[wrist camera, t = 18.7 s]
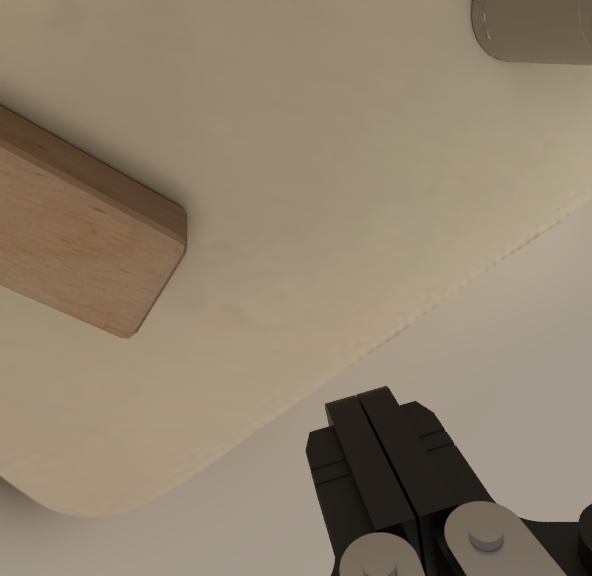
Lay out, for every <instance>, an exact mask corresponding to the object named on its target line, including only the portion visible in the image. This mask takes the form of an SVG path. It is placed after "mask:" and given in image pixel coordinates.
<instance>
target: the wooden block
mask: <svg viewBox="0 0 592 576" xmlns="http://www.w3.org/2000/svg"><path fill="white" fill-rule="evenodd" d="M186 249H187V214H186V213H185V211H184V210H183V209H182V208H181V207H179V206H178V205H176V204H174V203H172V202H170V201H169V200H167V199H165V198H163V197H162V196H160V195H158V194H156V193H154V192H153V191H151V190H149V189H147V188H146V187H144V186H142V185H140V184H138V183H137V182H135V181H133V180H131V179H130V178H128V177H126V176H124V175H122V174H121V173H119V172H117V171H115V170H114V169H112V168H110V167H108V166H106V165H105V164H103V163H101V162H99V161H98V160H96V159H94V158H92V157H90V156H89V155H87V154H85V153H83V152H82V151H80V150H78V149H76V148H74V147H73V146H71V145H69V144H67V143H66V142H64V141H62V140H60V139H58V138H57V137H55V136H53V135H51V134H50V133H48V132H46V131H44V130H42V129H41V128H39V127H37V126H35V125H34V124H32V123H30V122H28V121H26V120H25V119H23V118H21V117H19V116H18V115H16V114H14V113H12V112H11V111H9V110H7V109H5V108H3V107H2V106H0V285H2V286H4V287H6V288H8V289H11V290H13V291H15V292H18V293H20V294H22V295H24V296H27V297H29V298H31V299H34V300H36V301H38V302H40V303H43V304H45V305H47V306H50V307H52V308H54V309H56V310H59V311H61V312H63V313H65V314H68V315H70V316H72V317H75V318H77V319H79V320H81V321H84V322H86V323H88V324H91V325H93V326H95V327H97V328H100V329H102V330H104V331H107V332H109V333H111V334H113V335H116V336H118V337H120V338H127V339H129V338H130V337H131V336H132V335H134V334H135V333H136V332H138V330H139V328H140V327H141V325H142V323H143V322H144V320H145V319H146V317H147V315H148V314H149V312H150V310H151V309H152V307H153V306H154V304H155V302H156V301H157V299H158V297H159V296H160V294H161V293H162V291H163V289H164V288H165V286H166V284H167V283H168V281H169V279H170V278H171V276H172V275H173V273H174V271H175V270H176V268H177V266H178V265H179V263H180V262H181V260H182V258H183V257H184V255H185V253H186Z"/></svg>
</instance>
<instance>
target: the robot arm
mask: <svg viewBox="0 0 592 576" xmlns="http://www.w3.org/2000/svg"><path fill="white" fill-rule="evenodd" d="M472 21H473V29H474V31H475V34H476V37H477V40H478V41H479V43H480V44H481V46H482V48H483V49H484V50H485V51H486V52H487V53H488V54H489V55H491V56H493V57H495V58H496V59H498V60H502V61H506V62H528V63H547V64H573V65H592V0H473V4H472ZM325 409H326V414H327V418H328V423H329V427H326V428H322V429H319V430H315V431H312V432H310V433H309V438H308V442H307V447H306V454H307V458H308V462H309V466H310V470H311V474H312V478H313V481H314V485H315V489H316V493H317V497H318V500H319V504H320V507H321V511H322V514H323V517H324V521H325V524H326V528H327V531H328V534H329V538H330V541H331V545H332V548H333V552H334V555H335V564H334V568H333V572H332V574H331V576H592V504H591V505H589V506H588V507H586V508H585V510H583V512H582V513H581V515H580V518H579V522H536V521H531V520H526V519H523V518H520V517H518V516H517V515H515V514H514V513H513V512H512V511H510V510H509V509H507V508H505V507H503V506H501V505H499V504H497V503H496V502H495V501H494V500H493V499H492V498H491V496H490V495H489V494H488V492H487V490H486V489H485V488H484V486H483V485H482V483H481V482H480V480H479V479H478V477H477V476H476V474H475V473H474V472H473V470H472V469H471V467H470V466H469V464H468V463H467V461H466V460H465V458H464V457H463V455H462V454H461V452H460V451H459V449H458V448H457V446H455V445H454V442H453V441H452V439H451V438H450V436H449V435H448V433H447V432H445V429H444V427H443V426H442V424H441V423H440V422H439V420H438V418H437V417H436V416H435V414H434V413H433V412H432V411H430V410H429V409H427V408H426V407H424V406H422V405H421V404H419V403H418V402H416V401H414V402H410V403H407V404H403V405H400V406H399V404H398V403H397V401H396V399H395V398H394V396H393V394H392V393H391V391H390V389H389V388H388V387H387V386H384V387H381V388H377V389H374V390H370V391H367V392H364V393H360V394H357V395H356V396H355V395H354V396H350V397H347V398H344V399H340V400H336V401H333V402H330V403H326V404H325Z"/></svg>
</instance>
